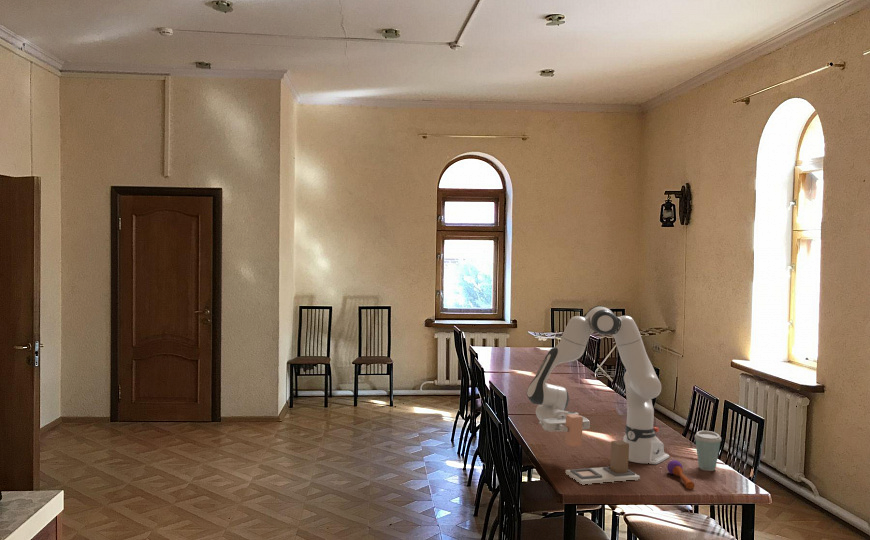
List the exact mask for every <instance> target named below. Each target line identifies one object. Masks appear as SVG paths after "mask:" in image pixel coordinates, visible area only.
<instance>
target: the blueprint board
mask: <svg viewBox="0 0 870 540" xmlns="http://www.w3.org/2000/svg"><path fill="white" fill-rule="evenodd" d="M610 443H611V445H610V463H609V466H600V467H588V468H586V467H585V468H574V469H573V468H572V469H565V473H566V474H565V475H567V476H568V475H569V476H568V477H570V478H571V479H572V478H573V480H574V479H575V480H576V481H575V480H574V481H575V482H577V483H578V482H579V483H578V484H580V485H581V484H582V485H581V486H584V485H585V484H588V485H593V484H592V483H600V484H604V483H603V482H612V483H615V482H614V481H623V482H627V481H626V480H635V481H639V480H638V479H640V480H641V476H640V475H639V474H637V473H636V472H634V471H632V470H631V469H629V461H628V458H629V444H628V443H626V442H624V441H623V439H621V440H611V442H610ZM585 486H586V485H585Z"/></svg>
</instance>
